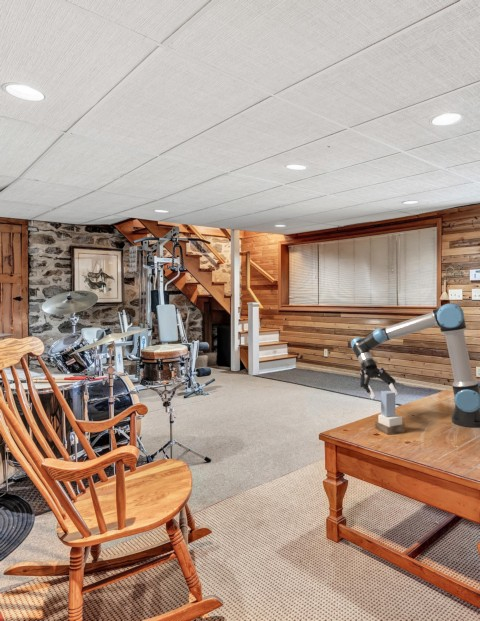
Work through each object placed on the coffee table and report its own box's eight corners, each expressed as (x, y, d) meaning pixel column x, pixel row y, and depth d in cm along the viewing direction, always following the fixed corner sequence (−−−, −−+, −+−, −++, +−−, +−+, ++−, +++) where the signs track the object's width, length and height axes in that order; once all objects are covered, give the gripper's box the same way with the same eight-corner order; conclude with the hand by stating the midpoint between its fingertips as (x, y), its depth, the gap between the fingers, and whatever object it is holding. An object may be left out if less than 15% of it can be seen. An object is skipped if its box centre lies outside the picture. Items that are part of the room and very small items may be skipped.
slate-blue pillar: (389, 413, 213) (389, 390, 213) (395, 416, 209) (395, 392, 208) (381, 414, 212) (380, 391, 212) (386, 417, 208) (386, 393, 207)
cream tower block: (390, 420, 215) (390, 412, 215) (402, 424, 208) (401, 416, 208) (378, 422, 212) (378, 414, 212) (389, 427, 205) (389, 419, 205)
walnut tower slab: (391, 426, 217) (391, 419, 217) (404, 433, 207) (404, 425, 207) (375, 429, 214) (375, 421, 214) (387, 435, 204) (387, 427, 204)
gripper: (383, 365, 231) (402, 397, 217) (344, 368, 224) (360, 402, 210) (389, 357, 226) (408, 390, 212) (349, 360, 218) (366, 394, 205)
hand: (385, 396), depth 211 cm, fingers open, 13 cm apart
